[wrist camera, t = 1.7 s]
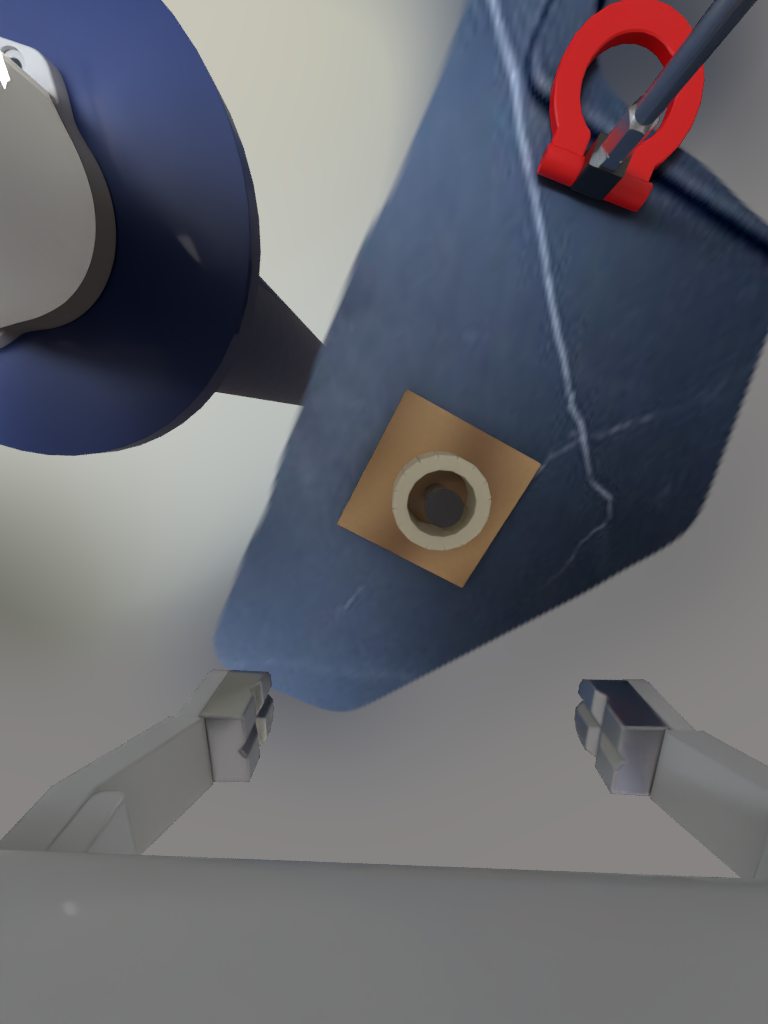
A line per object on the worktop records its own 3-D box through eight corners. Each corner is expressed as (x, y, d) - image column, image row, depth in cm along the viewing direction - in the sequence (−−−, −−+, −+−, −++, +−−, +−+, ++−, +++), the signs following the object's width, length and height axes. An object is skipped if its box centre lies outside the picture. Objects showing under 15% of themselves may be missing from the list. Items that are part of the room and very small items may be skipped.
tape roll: (377, 512, 27) (375, 523, 24) (419, 435, 25) (422, 436, 23) (451, 550, 27) (458, 566, 25) (497, 477, 26) (510, 484, 23)
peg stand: (338, 520, 28) (325, 543, 23) (406, 389, 26) (408, 382, 21) (460, 583, 29) (474, 617, 24) (536, 462, 27) (570, 472, 22)
